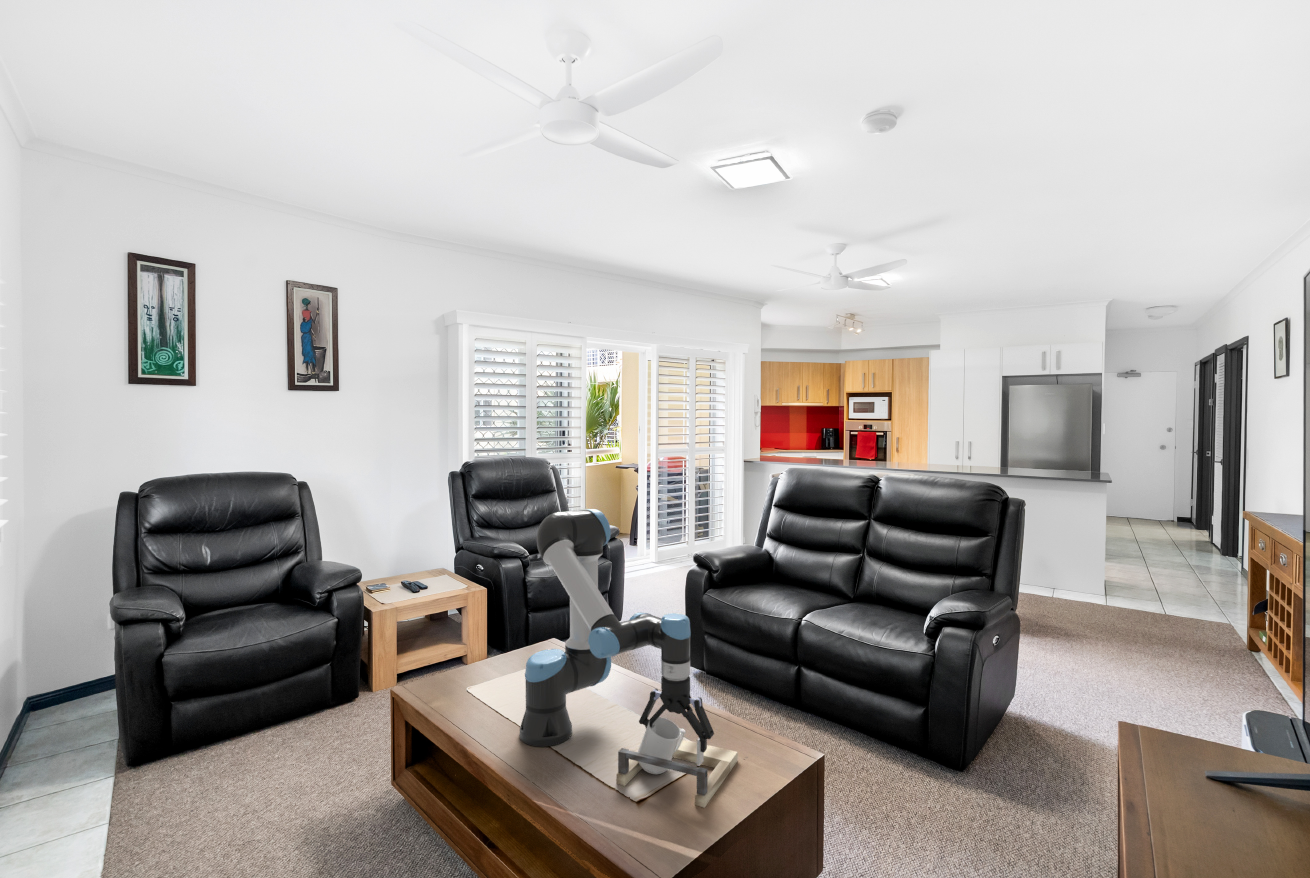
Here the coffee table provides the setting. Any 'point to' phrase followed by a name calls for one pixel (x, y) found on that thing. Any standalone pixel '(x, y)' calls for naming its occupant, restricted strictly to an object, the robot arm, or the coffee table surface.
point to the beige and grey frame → (683, 767)
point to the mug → (660, 743)
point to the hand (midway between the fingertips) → (675, 757)
